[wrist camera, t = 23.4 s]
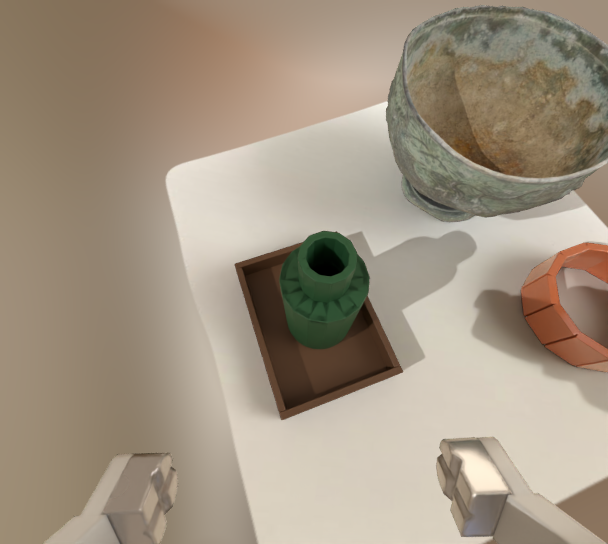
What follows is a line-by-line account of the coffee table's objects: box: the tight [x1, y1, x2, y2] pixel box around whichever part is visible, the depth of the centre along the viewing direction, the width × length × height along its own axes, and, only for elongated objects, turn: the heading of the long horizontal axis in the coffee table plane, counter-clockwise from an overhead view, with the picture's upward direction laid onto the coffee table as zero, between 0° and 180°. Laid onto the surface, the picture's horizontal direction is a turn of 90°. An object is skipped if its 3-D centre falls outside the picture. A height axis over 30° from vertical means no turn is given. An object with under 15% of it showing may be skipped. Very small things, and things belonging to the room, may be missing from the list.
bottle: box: [279, 231, 370, 349], centre depth 26 cm, size 6×6×14 cm
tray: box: [235, 232, 403, 420], centre depth 31 cm, size 15×11×3 cm
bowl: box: [386, 5, 608, 222], centre depth 32 cm, size 20×19×15 cm
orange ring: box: [521, 243, 608, 372], centre depth 31 cm, size 12×12×4 cm
